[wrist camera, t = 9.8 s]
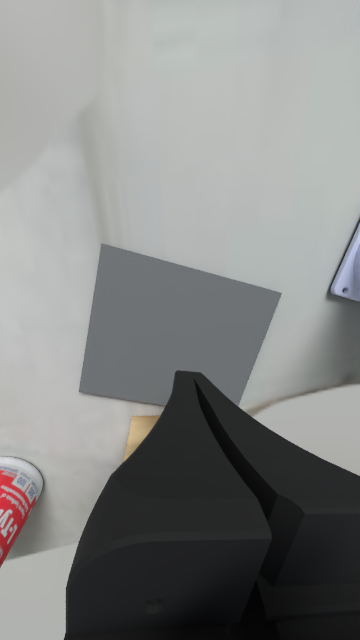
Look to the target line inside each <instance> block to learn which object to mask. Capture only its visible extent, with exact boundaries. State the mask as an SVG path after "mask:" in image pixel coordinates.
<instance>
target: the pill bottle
mask: <svg viewBox="0 0 360 640" xmlns="http://www.w3.org/2000/svg"><path fill="white" fill-rule="evenodd" d="M42 487H43V480H42V477H41V474H40V473H39V471H38V470H37V469H36V468H35V467H34V466H33V465H31V464H30V463H28V462H26V461H24V460H22V459H18V458H14V457H0V567H1V565H2V564H3V562H4V560H5V558H6V556H7V554H8V553H9V551H10V549H11V547H12V545H13V544H14V542H15V540H16V538H17V536H18V534H19V533H20V531H21V529H22V527H23V525H24V523H25V522H26V520H27V518H28V516H29V514H30V512H31V511H32V509H33V507H34V505H35V503H36V501H37V499H38V497H39V495H40V493H41V491H42Z"/></svg>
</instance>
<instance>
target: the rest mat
mask: <svg viewBox="0 0 360 640" xmlns="http://www.w3.org/2000/svg"><path fill="white" fill-rule="evenodd" d="M281 294H282V293H280V292H276V291H272V290H269V289H265V288H261V287H258V286H254V285H250V284H247V283H243V282H240V281H236V280H232V279H229V278H225V277H221V276H218V275H214V274H211V273H207V272H203V271H200V270H196V269H192V268H189V267H185V266H181V265H178V264H174V263H171V262H167V261H163V260H160V259H156V258H152V257H149V256H145V255H141V254H138V253H134V252H131V251H127V250H123V249H120V248H116V247H112V246H109V245H105V244H101V251H100V257H99V264H98V270H97V277H96V284H95V290H94V297H93V303H92V310H91V316H90V323H89V329H88V336H87V342H86V349H85V355H84V362H83V368H82V375H81V381H80V388H79V392H82V393H88V394H94V395H101V396H107V397H113V398H119V399H125V400H131V401H138V402H144V403H150V404H156V405H162V406H166V405H167V403H168V400H169V398H170V396H171V393H172V389H173V382H174V376H175V372H176V371H177V370H181V371H192V372H201V373H202V374H203V375H204V376H205V377H206V378H208V379H209V380H210V381H211V382H212V383H213V384H214V385H215V386H216V387H217V388H218V389H219V390H220V391H221V392H222V393H223V394H224V395H225V396H226V397H227V398H229V399H230V400H231V401H232V402H233V403H234V404H236V405H237V406H238V405H239V402H240V400H241V397H242V395H243V392H244V389H245V387H246V384H247V382H248V379H249V377H250V374H251V371H252V369H253V366H254V364H255V361H256V358H257V356H258V353H259V351H260V348H261V346H262V343H263V340H264V338H265V335H266V333H267V330H268V328H269V325H270V322H271V320H272V317H273V315H274V312H275V309H276V307H277V304H278V302H279V299H280V297H281Z"/></svg>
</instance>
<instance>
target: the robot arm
mask: <svg viewBox="0 0 360 640" xmlns="http://www.w3.org/2000/svg"><path fill="white" fill-rule="evenodd" d="M343 288H344V291H343V292H342V290H343ZM331 293H332V294H334V295H337V296H341V297H344V298H348V299H351V300H355V301H358V302H360V223H359V226H358V228H357V230H356V232H355V235H354V237H353V239H352V241H351V244H350V246H349V248H348V250H347V253H346V255H345V257H344V259H343V262H342V264H341V266H340V268H339V271H338V273H337V275H336V277H335V280H334V282H333V284H332V286H331ZM64 640H360V476H358V475H356V474H354V473H352V472H350V471H347V470H345V469H343V468H341V467H339V466H336V465H334V464H332V463H330V462H328V461H325V460H323V459H321V458H319V457H318V456H316V455H314V454H312V453H310V452H308V451H306V450H304V449H302V448H300V447H298V446H297V445H295V444H293V443H291V442H290V441H288V440H286V439H284V438H283V437H281V436H279V435H278V434H276V433H275V432H273V431H271V430H270V429H268V428H267V427H265V426H264V425H262V424H261V423H259V422H258V421H256V420H255V419H254V418H252V417H251V416H249V415H248V414H247V413H245V412H244V411H243V410H242V409H240V408H239V407H238V406H237V405H236V404H234V403H233V402H232V401H231V400H230V399H229V398H227V397H226V396H225V395H224V394H223V393H222V392H221V391H220V390H219V389H218V388H217V387H216V386H215V385H214V384H213V383H212V382H211V381H210V380H209V379H208V378H206V377H205V376H204V375H203V374H202V373H201V372H192V371H181V370H177V371H176V372H175V376H174V382H173V389H172V393H171V396H170V398H169V400H168V403H167V405H166V407H165V409H164V410H163V412H162V414H161V416H160V417H159V419H158V420H157V422H156V424H155V425H154V427H153V428H152V429H151V431H150V432H149V434H148V435H147V436H146V437H145V439H144V440H143V441H142V442H141V443H140V445H139V446H138V447H137V448H136V450H135V451H134V452H133V453H132V454H131V455H130V456H129V457H128V458H127V459H126V460H125V461H124V462H123V463H122V464H121V465H120V466H119V467H118V469H117V470H116V471H115V472H114V473H113V474H112V475H111V476H110V478H109V480H108V482H107V483H106V485H105V487H104V489H103V491H102V493H101V494H100V496H99V498H98V500H97V502H96V504H95V506H94V508H93V510H92V512H91V514H90V516H89V519H88V521H87V523H86V526H85V528H84V530H83V533H82V536H81V538H80V541H79V544H78V547H77V550H76V554H75V557H74V561H73V564H72V567H71V571H70V574H69V578H68V582H67V587H66V634H65V638H64Z"/></svg>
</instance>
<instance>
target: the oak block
mask: <svg viewBox="0 0 360 640" xmlns="http://www.w3.org/2000/svg"><path fill="white" fill-rule="evenodd" d="M159 417H160V416H133V417H132V422H131V426H130V431H129V436H128V441H127V446H126V451H125V456H124V461H125V460H126V459H127V458H128V457H129V456H130V455H131V454H132V453H133V452H134V451H135V450H136V448H137V447H138V446H139V445H140V443H141V442H142V441H143V440H144V439H145V437H146V436H147V435H148V434H149V432H150V431H151V429H152V428H153V427H154V425H155V424H156V422H157V420H158V419H159ZM124 461H123V462H124Z"/></svg>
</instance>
